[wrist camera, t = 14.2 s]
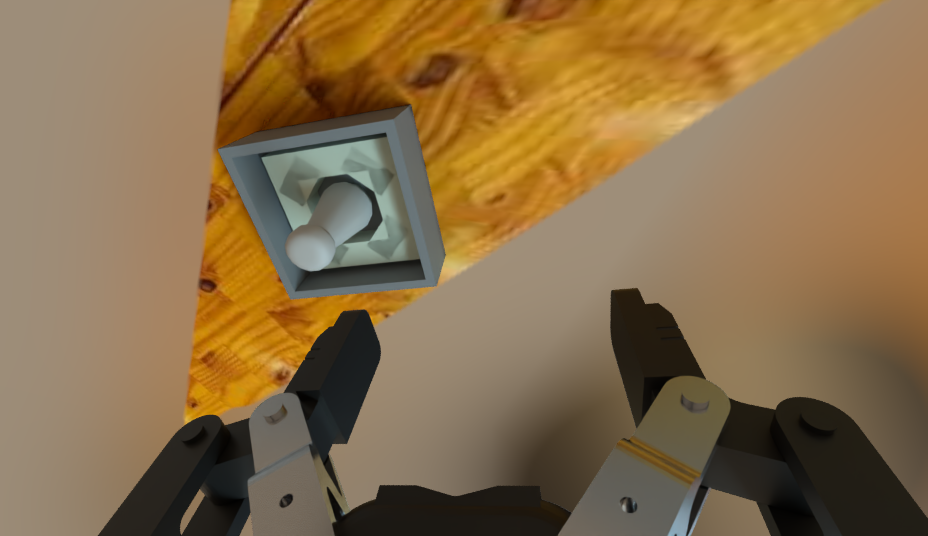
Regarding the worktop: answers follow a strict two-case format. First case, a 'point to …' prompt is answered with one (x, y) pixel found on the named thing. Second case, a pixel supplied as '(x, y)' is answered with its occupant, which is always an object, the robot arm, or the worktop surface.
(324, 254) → the salt shaker
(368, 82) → the worktop surface
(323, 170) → the bore box
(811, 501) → the robot arm
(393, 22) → the worktop surface
